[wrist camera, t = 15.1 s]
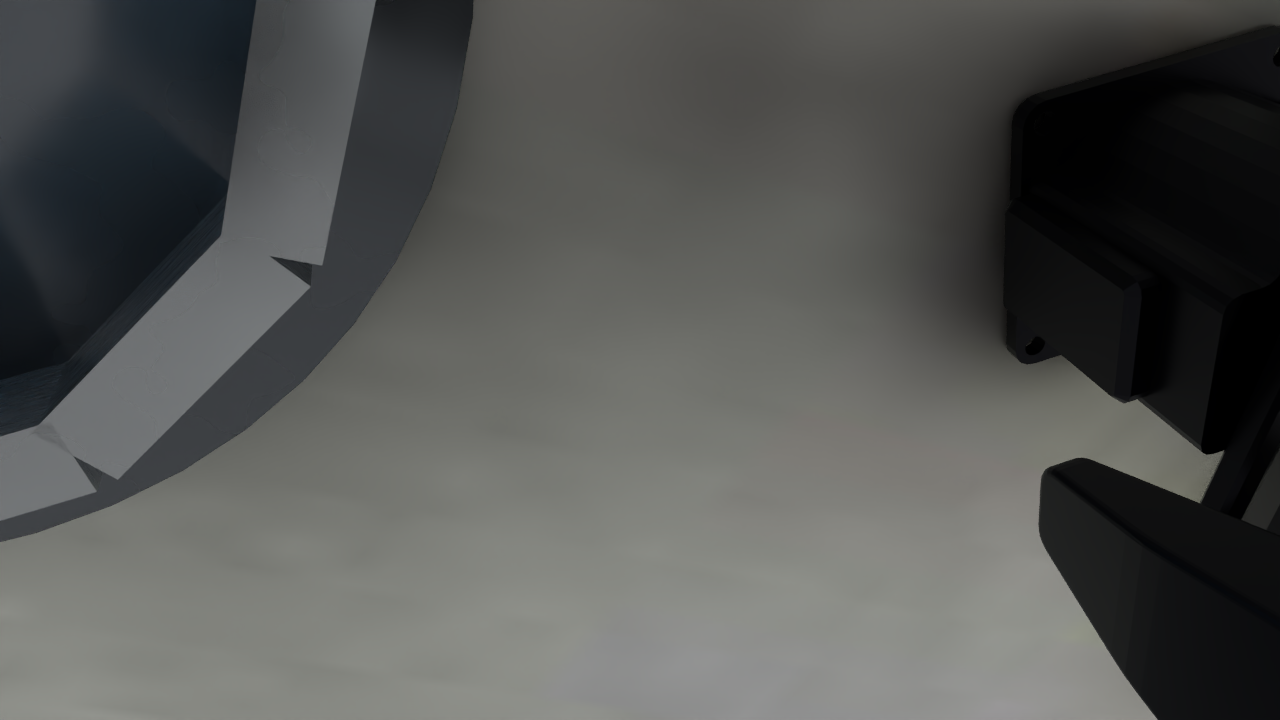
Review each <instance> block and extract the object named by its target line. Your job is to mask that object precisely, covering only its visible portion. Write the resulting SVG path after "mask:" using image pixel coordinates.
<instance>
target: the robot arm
mask: <svg viewBox="0 0 1280 720" xmlns="http://www.w3.org/2000/svg"><path fill="white" fill-rule="evenodd" d="M1279 46H1280V26H1272V27H1268V28H1265V29H1261V30H1258V31H1254V32H1251V33H1247V34H1244V35H1240V36H1237V37H1234V38H1230V39H1227V40H1223V41H1220V42H1216V43H1213V44H1209V45H1206V46H1202V47H1199V48H1195V49H1192V50H1188V51H1185V52H1181V53H1178V54H1174V55H1171V56H1167V57H1164V58H1160V59H1157V60H1154V61H1150V62H1147V63H1143V64H1140V65H1136V66H1133V67H1129V68H1126V69H1122V70H1119V71H1115V72H1112V73H1108V74H1105V75H1101V76H1098V77H1094V78H1091V79H1087V80H1084V81H1080V82H1077V83H1074V84H1070V85H1067V86H1063V87H1060V88H1056V89H1053V90H1049V91H1046V92H1042V93H1039V94H1035V95H1033V96H1031V97H1029V98H1027V99H1026V100H1025V101H1024V102H1022V103H1021V104H1020V105H1019V107H1018V108H1017V110H1016V112H1015V114H1014V116H1013V121H1012V140H1011V179H1010V203H1009V205H1008V208H1007V210H1006V213H1005V256H1004V300H1003V302H1004V306H1005V308H1006V309H1007V336H1006V345H1007V349H1008V351H1009V352H1010V353H1011V354H1012V355H1013V356H1014V357H1015V358H1017V359H1018V360H1019V361H1020V362H1021V363H1024V364H1033V363H1037V362H1040V361H1043V360H1046V359H1049V358H1052V357H1056V356H1059V355H1062V356H1064V357H1065V358H1066V359H1067V360H1068V361H1070V362H1071V363H1072V364H1073V365H1074V366H1076V367H1077V368H1078V369H1079V370H1080V371H1082V372H1083V373H1084V374H1085V375H1086V376H1087V377H1089V378H1090V379H1091V380H1092V381H1093V382H1095V383H1096V384H1097V385H1098V386H1099V387H1101V388H1102V389H1103V390H1104V391H1105V392H1107V393H1108V394H1109V395H1110V396H1112V397H1113V398H1115V399H1117V400H1118V401H1120V402H1122V403H1127V402H1130V401H1133V400H1136V399H1138V400H1139V401H1140V402H1141V403H1143V404H1144V405H1145V406H1146V407H1147V408H1149V409H1150V410H1151V411H1152V412H1154V413H1155V414H1156V415H1157V416H1159V417H1160V418H1161V419H1162V420H1163V421H1165V422H1166V423H1167V424H1168V425H1170V426H1171V427H1172V428H1173V429H1174V430H1176V431H1177V432H1178V433H1179V434H1181V435H1182V436H1183V437H1184V438H1185V439H1187V440H1188V441H1189V442H1190V443H1192V444H1193V445H1194V446H1195V447H1197V448H1198V449H1199V450H1200V451H1201V452H1203V453H1205V454H1206V455H1207V454H1214V453H1217V452H1220V451H1223V450H1224V453H1223V455H1222V457H1221V459H1220V461H1219V463H1218V465H1217V467H1216V470H1215V472H1214V474H1213V476H1212V478H1211V480H1210V482H1209V484H1208V487H1207V489H1206V491H1205V493H1204V495H1203V497H1202V499H1201V501H1200V503H1198V502H1195V501H1193V500H1190V499H1188V498H1185V497H1183V496H1180V495H1178V494H1175V493H1173V492H1170V491H1168V490H1165V489H1163V488H1160V487H1158V486H1155V485H1153V484H1150V483H1148V482H1145V481H1143V480H1140V479H1138V478H1135V477H1133V476H1130V475H1128V474H1125V473H1123V472H1120V471H1118V470H1115V469H1113V468H1110V467H1108V466H1105V465H1103V464H1100V463H1098V462H1095V461H1093V460H1090V459H1086V458H1076V459H1072V460H1069V461H1066V462H1063V463H1060V464H1057V465H1054V466H1051V467H1049V468H1047V469H1046V470H1045V471H1044V473H1043V474H1042V477H1041V488H1040V506H1039V533H1040V537H1041V540H1042V543H1043V545H1044V547H1045V549H1046V551H1047V552H1048V554H1049V556H1050V557H1051V559H1052V561H1053V562H1054V564H1055V565H1056V567H1057V569H1058V570H1059V572H1060V573H1061V575H1062V577H1063V578H1064V580H1065V582H1066V583H1067V585H1068V586H1069V588H1070V590H1071V591H1072V593H1073V594H1074V596H1075V598H1076V599H1077V601H1078V603H1079V604H1080V606H1081V607H1082V609H1083V611H1084V612H1085V614H1086V616H1087V617H1088V619H1089V620H1090V622H1091V624H1092V625H1093V627H1094V628H1095V630H1096V632H1097V633H1098V635H1099V637H1100V638H1101V640H1102V641H1103V643H1104V645H1105V646H1106V648H1107V650H1108V651H1109V653H1110V654H1111V656H1112V657H1113V659H1114V660H1115V662H1116V664H1117V665H1118V667H1119V668H1120V670H1121V671H1122V673H1123V674H1124V676H1125V677H1126V678H1127V680H1128V681H1129V682H1130V684H1131V685H1132V687H1133V688H1134V689H1135V691H1136V692H1137V693H1138V695H1139V696H1140V697H1141V699H1142V700H1143V701H1144V703H1145V704H1146V705H1147V706H1148V708H1149V709H1150V710H1151V712H1152V713H1153V714H1154V715H1155V717H1156V718H1157V719H1158V720H1280V48H1279ZM1278 48H1279V50H1278V53H1277V54H1276V55H1275V56H1274V54H1275V51H1276V50H1277V49H1278ZM1273 56H1274V58H1273ZM1043 113H1045V118H1044V121H1043V122H1042V124H1041V125H1040V126H1039V127H1037V128H1036V129H1034V124H1035V121H1036V119H1037V118H1038V117H1039V116H1040V115H1041V114H1043ZM1034 337H1035V338H1034ZM1033 338H1034V340H1033V341H1032V342H1031V343H1030V344H1029V345H1027V343H1028V342H1029V341H1030V340H1031V339H1033ZM1026 345H1027V346H1026Z"/></svg>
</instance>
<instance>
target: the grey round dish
mask: <svg viewBox="0 0 1280 720" xmlns="http://www.w3.org/2000/svg"><path fill="white" fill-rule="evenodd" d="M472 18H473V0H0V542H2V541H6V540H10V539H14V538H18V537H22V536H26V535H30V534H34V533H37V532H40V531H43V530H45V529H48V528H51V527H54V526H57V525H59V524H62V523H65V522H68V521H70V520H73V519H76V518H79V517H81V516H84V515H87V514H90V513H92V512H95V511H98V510H101V509H104V508H106V507H109V506H112V505H114V504H116V503H118V502H120V501H122V500H124V499H126V498H128V497H130V496H132V495H134V494H136V493H138V492H140V491H142V490H144V489H146V488H149V487H151V486H153V485H155V484H157V483H159V482H161V481H163V480H165V479H167V478H169V477H171V476H173V475H175V474H177V473H179V472H181V471H183V470H184V469H186V468H188V467H189V466H191V465H192V464H194V463H195V462H197V461H198V460H200V459H201V458H203V457H204V456H206V455H207V454H209V453H211V452H212V451H214V450H215V449H217V448H218V447H220V446H221V445H223V444H224V443H226V442H227V441H229V440H230V439H232V438H233V437H235V436H237V435H238V434H240V433H241V432H243V431H244V430H246V429H247V428H248V427H249V426H251V425H252V424H253V423H254V422H255V421H256V420H258V419H259V418H260V417H261V416H262V415H264V414H265V413H266V412H267V411H268V410H269V409H271V408H272V407H273V406H274V405H275V404H276V403H278V402H279V401H280V400H281V399H282V398H283V397H285V396H286V395H287V394H288V393H289V392H290V391H292V390H293V389H294V388H295V387H296V386H297V385H299V384H300V383H301V382H302V381H303V380H304V379H305V378H306V377H307V376H308V375H309V374H310V373H311V371H312V370H313V369H314V368H315V367H316V366H317V365H318V364H319V362H320V361H321V360H322V359H323V358H324V357H325V356H326V355H327V354H328V352H329V351H330V350H331V349H332V348H333V347H334V346H335V345H336V343H337V342H338V341H339V340H340V339H341V338H342V337H343V336H344V334H345V333H346V332H347V331H348V330H349V329H350V328H351V327H352V326H353V324H354V323H355V321H356V320H357V318H358V317H359V315H360V314H361V313H362V311H363V310H364V308H365V307H366V305H367V304H368V302H369V301H370V299H371V298H372V296H373V295H374V293H375V292H376V290H377V289H378V287H379V286H380V284H381V283H382V281H383V280H384V278H385V277H386V275H387V274H388V272H389V271H390V269H391V268H392V266H393V265H394V263H395V262H396V260H397V258H398V256H399V254H400V252H401V250H402V248H403V246H404V243H405V241H406V239H407V237H408V235H409V233H410V231H411V229H412V227H413V225H414V223H415V221H416V219H417V217H418V214H419V212H420V210H421V208H422V206H423V204H424V202H425V200H426V198H427V196H428V194H429V192H430V190H431V187H432V184H433V180H434V177H435V174H436V171H437V168H438V165H439V162H440V159H441V156H442V152H443V149H444V146H445V143H446V140H447V137H448V134H449V131H450V128H451V124H452V121H453V118H454V115H455V112H456V109H457V103H458V98H459V92H460V86H461V81H462V75H463V69H464V64H465V58H466V52H467V47H468V41H469V36H470V30H471V24H472Z"/></svg>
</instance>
